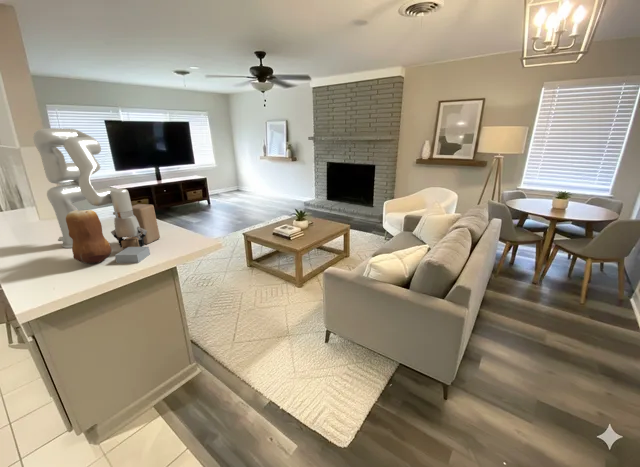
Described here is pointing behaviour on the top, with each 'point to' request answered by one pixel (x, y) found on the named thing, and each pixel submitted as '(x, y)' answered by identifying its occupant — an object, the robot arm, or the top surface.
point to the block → (147, 221)
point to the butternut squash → (87, 236)
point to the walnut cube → (130, 242)
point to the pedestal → (132, 254)
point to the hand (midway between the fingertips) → (132, 246)
